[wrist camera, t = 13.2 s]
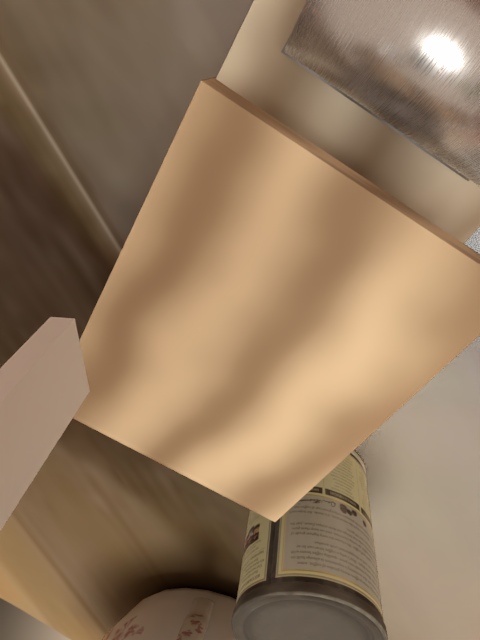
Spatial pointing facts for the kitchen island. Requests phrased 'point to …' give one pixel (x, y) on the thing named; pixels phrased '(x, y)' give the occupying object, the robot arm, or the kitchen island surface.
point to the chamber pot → (178, 617)
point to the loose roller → (403, 67)
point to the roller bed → (343, 122)
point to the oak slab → (268, 309)
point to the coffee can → (313, 566)
